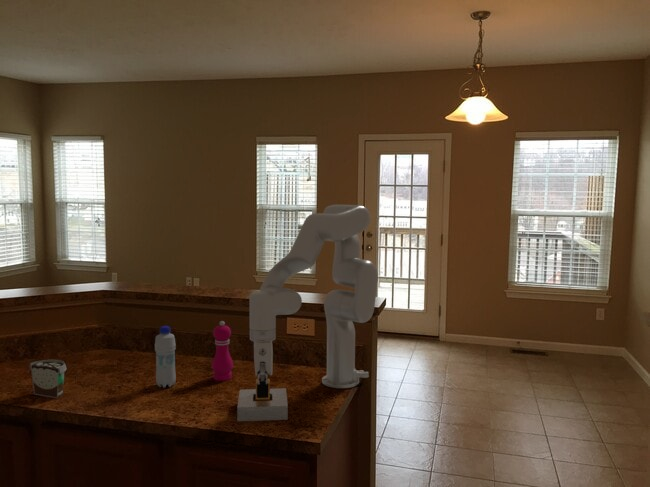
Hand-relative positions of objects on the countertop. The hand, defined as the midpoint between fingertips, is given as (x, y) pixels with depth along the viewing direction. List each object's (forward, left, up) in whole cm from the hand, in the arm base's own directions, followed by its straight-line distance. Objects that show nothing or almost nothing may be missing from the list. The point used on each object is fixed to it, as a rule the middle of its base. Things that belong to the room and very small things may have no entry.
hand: (262, 391), depth 159 cm
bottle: (+32, -24, -6) cm, 40 cm away
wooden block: (0, 0, -6) cm, 6 cm away
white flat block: (0, 0, -6) cm, 6 cm away
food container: (+66, -20, -6) cm, 69 cm away
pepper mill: (+14, -30, -6) cm, 34 cm away
